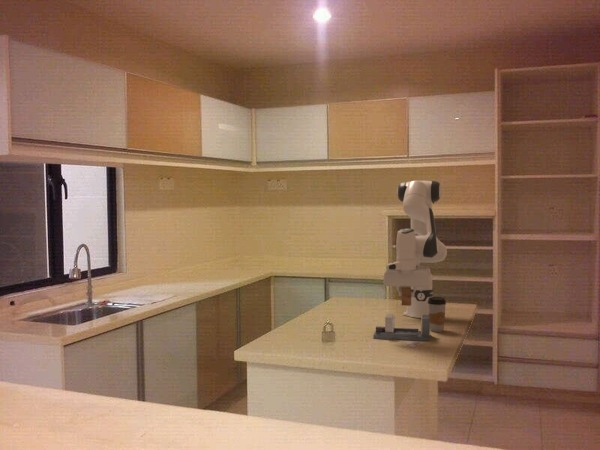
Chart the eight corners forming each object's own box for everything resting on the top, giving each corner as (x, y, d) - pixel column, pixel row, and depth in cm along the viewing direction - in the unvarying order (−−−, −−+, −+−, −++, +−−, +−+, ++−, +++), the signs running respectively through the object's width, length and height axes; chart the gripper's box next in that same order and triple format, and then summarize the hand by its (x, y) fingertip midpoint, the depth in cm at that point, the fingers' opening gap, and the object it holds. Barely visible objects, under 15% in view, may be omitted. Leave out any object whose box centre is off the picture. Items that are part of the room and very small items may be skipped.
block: (402, 303, 259) (402, 287, 259) (411, 304, 259) (411, 287, 258) (401, 305, 256) (401, 288, 255) (410, 305, 255) (410, 288, 254)
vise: (376, 332, 267) (376, 312, 267) (429, 334, 261) (429, 314, 261) (373, 338, 255) (373, 317, 255) (429, 341, 250) (429, 319, 249)
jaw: (377, 329, 265) (377, 313, 265) (394, 330, 263) (394, 313, 263) (375, 333, 257) (374, 316, 256) (393, 334, 255) (393, 317, 255)
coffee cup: (433, 332, 265) (433, 300, 264) (424, 329, 273) (424, 297, 272) (449, 331, 267) (449, 299, 266) (440, 327, 275) (440, 296, 274)
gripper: (430, 265, 257) (430, 296, 258) (384, 264, 262) (384, 294, 262) (430, 266, 251) (430, 298, 252) (382, 265, 256) (382, 296, 256)
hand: (406, 296), depth 257 cm, fingers closed on block, 4 cm apart
